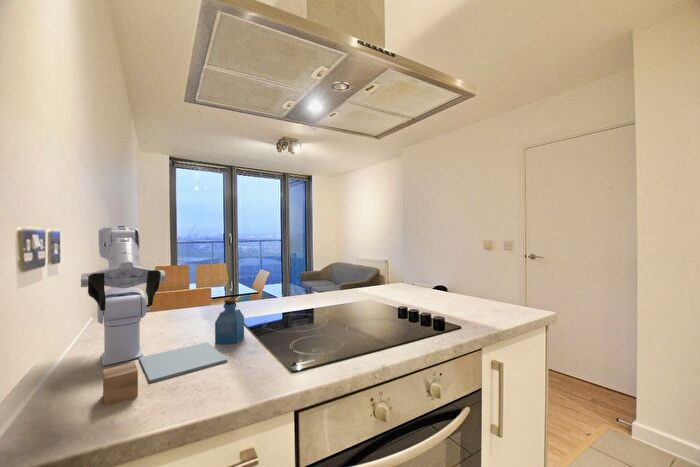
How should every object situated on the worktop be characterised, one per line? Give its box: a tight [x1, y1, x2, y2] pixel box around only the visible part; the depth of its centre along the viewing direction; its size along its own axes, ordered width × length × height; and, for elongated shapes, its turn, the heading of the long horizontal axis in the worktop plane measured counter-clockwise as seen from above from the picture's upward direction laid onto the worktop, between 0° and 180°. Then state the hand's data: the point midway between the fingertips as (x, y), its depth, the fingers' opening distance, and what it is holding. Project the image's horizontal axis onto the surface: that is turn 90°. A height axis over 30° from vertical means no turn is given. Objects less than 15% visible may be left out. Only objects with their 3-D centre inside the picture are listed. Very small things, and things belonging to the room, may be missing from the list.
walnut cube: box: [102, 362, 139, 407], centre depth 58 cm, size 5×5×5 cm
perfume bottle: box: [214, 298, 245, 345], centre depth 89 cm, size 6×6×12 cm
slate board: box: [138, 341, 228, 384], centre depth 74 cm, size 16×16×1 cm
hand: (127, 304), depth 60 cm, fingers open, 7 cm apart
